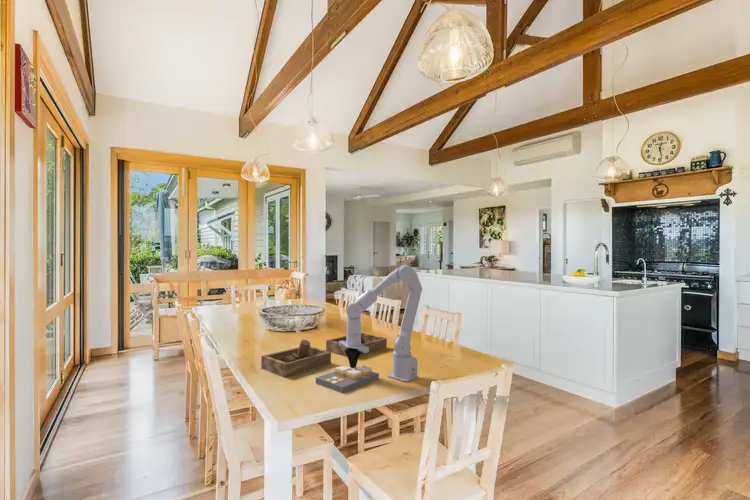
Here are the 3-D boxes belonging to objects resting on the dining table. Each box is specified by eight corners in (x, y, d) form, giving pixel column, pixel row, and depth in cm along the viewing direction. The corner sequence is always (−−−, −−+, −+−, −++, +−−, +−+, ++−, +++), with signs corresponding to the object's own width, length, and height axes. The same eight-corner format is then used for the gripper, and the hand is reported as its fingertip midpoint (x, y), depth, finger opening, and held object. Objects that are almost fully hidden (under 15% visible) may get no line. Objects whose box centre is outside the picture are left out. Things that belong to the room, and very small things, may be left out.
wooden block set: (288, 379, 158) (294, 358, 155) (275, 366, 163) (281, 345, 160) (321, 366, 173) (327, 347, 170) (308, 355, 177) (314, 336, 174)
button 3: (360, 373, 158) (360, 367, 158) (353, 375, 155) (353, 369, 155) (352, 370, 161) (352, 364, 161) (345, 373, 158) (345, 367, 158)
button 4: (349, 374, 154) (349, 368, 153) (342, 377, 150) (342, 370, 150) (342, 372, 156) (342, 365, 156) (334, 374, 153) (335, 368, 153)
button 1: (371, 374, 154) (371, 367, 154) (364, 376, 151) (364, 370, 151) (363, 371, 157) (364, 365, 157) (357, 374, 154) (357, 367, 154)
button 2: (361, 378, 150) (361, 371, 150) (353, 380, 147) (353, 374, 147) (353, 375, 152) (353, 369, 152) (346, 378, 149) (346, 371, 149)
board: (378, 378, 154) (378, 372, 154) (342, 393, 139) (342, 386, 139) (352, 370, 164) (352, 365, 163) (315, 383, 148) (315, 377, 148)
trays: (386, 348, 198) (386, 338, 198) (288, 378, 152) (288, 365, 152) (359, 341, 210) (360, 332, 210) (261, 368, 164) (261, 356, 164)
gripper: (333, 331, 159) (333, 365, 159) (360, 338, 150) (359, 373, 150) (346, 328, 165) (345, 361, 165) (372, 334, 155) (371, 369, 155)
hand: (353, 367), depth 158 cm, fingers closed, pressing on button 3
